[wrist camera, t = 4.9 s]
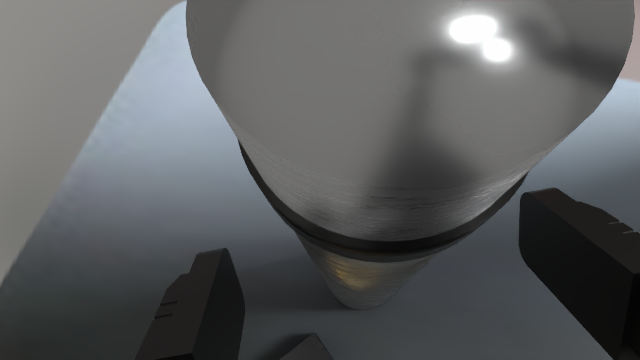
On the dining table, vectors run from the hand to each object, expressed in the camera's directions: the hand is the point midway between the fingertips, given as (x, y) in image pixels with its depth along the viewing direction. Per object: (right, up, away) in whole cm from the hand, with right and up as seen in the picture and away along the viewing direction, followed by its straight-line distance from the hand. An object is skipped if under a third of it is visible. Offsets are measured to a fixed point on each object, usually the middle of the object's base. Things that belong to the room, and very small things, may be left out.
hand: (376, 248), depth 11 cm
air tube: (+1, -3, +12) cm, 12 cm away
